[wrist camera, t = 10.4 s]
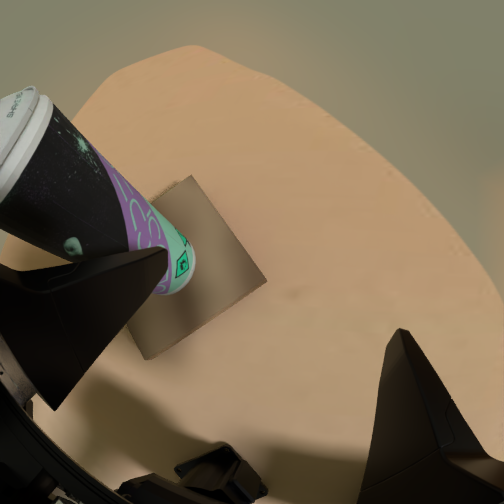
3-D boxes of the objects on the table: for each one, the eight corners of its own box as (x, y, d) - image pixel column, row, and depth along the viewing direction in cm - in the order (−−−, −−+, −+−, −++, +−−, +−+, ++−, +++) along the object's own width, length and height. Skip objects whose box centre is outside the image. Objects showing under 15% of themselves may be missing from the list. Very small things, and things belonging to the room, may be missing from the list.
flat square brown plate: (158, 358, 23) (145, 360, 20) (109, 255, 26) (95, 248, 24) (268, 284, 23) (265, 278, 21) (199, 187, 27) (191, 174, 25)
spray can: (176, 307, 21) (-87, 197, 2) (128, 277, 23) (-78, 165, 4) (207, 247, 22) (21, 33, 3) (158, 223, 24) (-10, 59, 5)
